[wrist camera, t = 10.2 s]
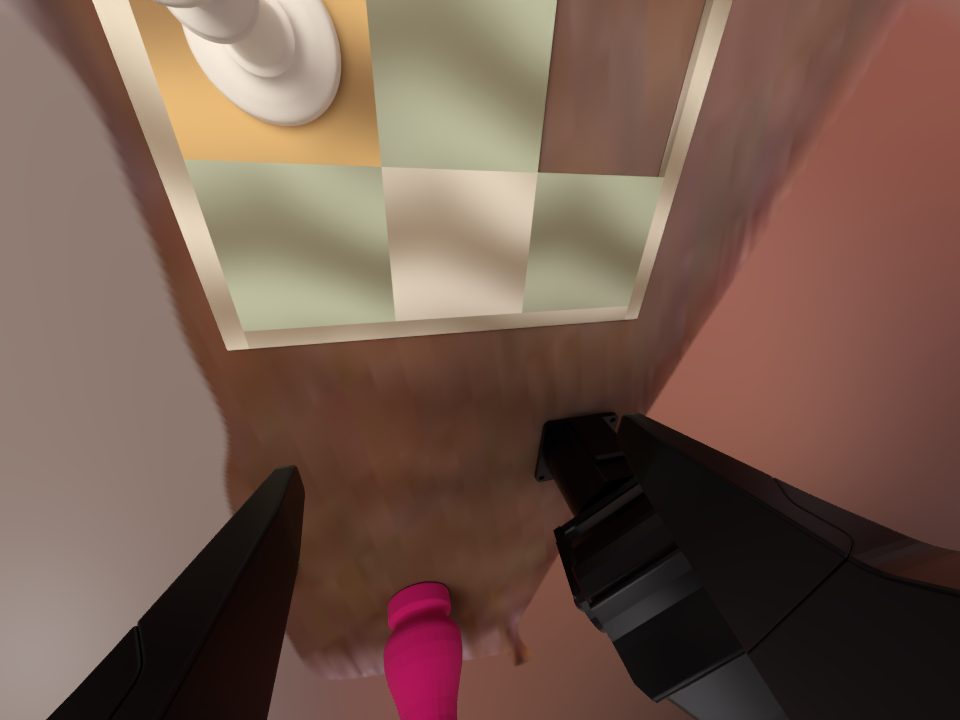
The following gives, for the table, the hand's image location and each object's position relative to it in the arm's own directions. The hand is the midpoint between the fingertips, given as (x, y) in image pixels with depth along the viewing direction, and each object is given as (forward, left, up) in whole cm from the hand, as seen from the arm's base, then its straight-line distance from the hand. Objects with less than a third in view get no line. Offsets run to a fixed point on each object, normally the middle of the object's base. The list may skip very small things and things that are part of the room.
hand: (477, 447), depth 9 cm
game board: (+6, -2, -12) cm, 14 cm away
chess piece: (+10, +5, -12) cm, 16 cm away
